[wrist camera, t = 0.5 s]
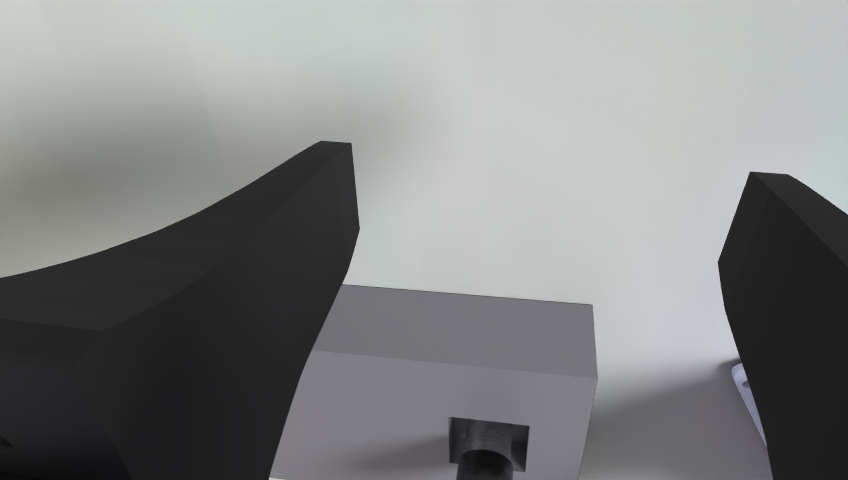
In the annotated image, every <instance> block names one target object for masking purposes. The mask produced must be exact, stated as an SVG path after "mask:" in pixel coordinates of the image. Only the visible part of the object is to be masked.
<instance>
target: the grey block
mask: <svg viewBox="0 0 848 480" xmlns="http://www.w3.org/2000/svg"><path fill="white" fill-rule="evenodd" d="M597 380H598V377H597V362H596V347H595V332H594V318H593V305H584V304H572V303H560V302H548V301H535V300H523V299H511V298H499V297H487V296H474V295H462V294H450V293H438V292H425V291H413V290H401V289H389V288H377V287H364V286H352V285H341V287H340V290H339V292H338V294H337V296H336V298H335V301H334V303H333V305H332V307H331V309H330V312H329V314H328V316H327V318H326V320H325V322H324V325H323V327H322V329H321V331H320V333H319V335H318V338H317V340H316V342H315V344H314V346H313V348H312V351H311V353H310V355H309V357H308V360H307V362H306V365H305V367H304V369H303V372H302V374H301V377H300V380H299V383H298V386H297V389H296V392H295V395H294V398H293V401H292V404H291V407H290V410H289V413H288V416H287V419H286V423H285V426H284V429H283V433H282V436H281V439H280V443H279V446H278V449H277V452H276V456H275V459H274V462H273V466H272V469H271V473H270V476H269V477H271V478H278V479H286V480H456V476H457V469H458V461H459V458H460V457H461V455H463V451H464V444H465V436H466V429H467V421H468V419H475V420H483V421H492V422H501V423H510V424H513V425H512V441H511V456H510V461H511V463H512V465H513V480H578V477H579V472H580V467H581V462H582V457H583V452H584V446H585V441H586V436H587V431H588V426H589V421H590V416H591V410H592V405H593V400H594V395H595V390H596V385H597Z"/></svg>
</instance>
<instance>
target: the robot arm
mask: <svg viewBox="0 0 848 480" xmlns="http://www.w3.org/2000/svg"><path fill="white" fill-rule="evenodd" d="M359 230H360V227H359V217H358V207H357V196H356V186H355V176H354V165H353V155H352V145H351V143H344V142H330V141H320V142H318V143H316V144H314V145H312V146H310V147H308V148H307V149H305V150H303V151H302V152H300V153H298V154H297V155H295V156H294V157H292V158H290V159H289V160H287V161H286V162H284V163H283V164H281V165H279V166H278V167H276V168H275V169H273V170H271V171H270V172H268V173H267V174H265V175H263V176H262V177H260V178H259V179H257V180H255V181H254V182H252V183H250V184H249V185H247V186H245V187H243V188H242V189H240V190H238V191H236V192H235V193H233V194H231V195H229V196H227V197H226V198H224V199H222V200H220V201H219V202H217V203H215V204H213V205H211V206H210V207H208V208H206V209H204V210H202V211H200V212H198V213H196V214H194V215H192V216H190V217H187V218H185V219H183V220H181V221H179V222H176V223H174V224H172V225H170V226H167V227H165V228H163V229H161V230H158V231H156V232H153V233H151V234H148V235H145V236H143V237H140V238H137V239H134V240H131V241H129V242H126V243H123V244H120V245H118V246H115V247H112V248H109V249H107V250H104V251H101V252H98V253H95V254H92V255H88V256H85V257H81V258H78V259H75V260H71V261H68V262H64V263H61V264H57V265H53V266H49V267H46V268H42V269H38V270H34V271H30V272H26V273H22V274H17V275H13V276H8V277H3V278H0V480H269V476H270V473H271V469H272V466H273V462H274V459H275V456H276V452H277V449H278V446H279V443H280V439H281V436H282V433H283V429H284V426H285V423H286V419H287V416H288V413H289V410H290V407H291V404H292V401H293V398H294V395H295V392H296V389H297V386H298V383H299V380H300V377H301V374H302V372H303V369H304V367H305V365H306V362H307V360H308V357H309V355H310V353H311V351H312V348H313V346H314V344H315V342H316V340H317V338H318V335H319V333H320V331H321V329H322V327H323V325H324V322H325V320H326V318H327V316H328V314H329V312H330V309H331V307H332V305H333V303H334V301H335V298H336V296H337V294H338V292H339V290H340V287H341V285H342V283H343V281H344V278H345V276H346V274H347V271H348V269H349V265H350V262H351V259H352V255H353V252H354V248H355V245H356V241H357V237H358V234H359ZM718 267H719V275H720V282H721V289H722V295H723V301H724V307H725V311H726V315H727V318H728V321H729V324H730V328H731V331H732V334H733V337H734V340H735V343H736V347H737V350H738V353H739V356H740V359H741V362H742V363H740V364H737V365H735V366H734V367H733V368H732V370H731V373H732V377H733V380H734V382H735V384H736V386H737V388H738V390H739V392H740V394H741V396H742V398H743V400H744V402H745V404H746V406H747V408H748V410H749V412H750V414H751V416H752V418H753V420H754V422H755V424H756V427H757V429H758V431H759V433H760V435H761V437H762V439H763V441H764V443H765V445H766V447H767V450H768V455H769V460H770V465H771V470H772V475H773V480H848V215H847V214H846V213H845V212H843V211H842V210H840V209H839V208H838V207H836V206H835V205H833V204H832V203H831V202H829V201H828V200H826V199H825V198H824V197H822V196H821V195H819V194H818V193H817V192H815V191H814V190H812V189H811V188H809V187H808V186H806V185H805V184H803V183H802V182H800V181H798V180H797V179H795V178H793V177H792V176H790V175H788V174H776V173H762V172H750V173H749V176H748V179H747V182H746V185H745V187H744V190H743V193H742V196H741V199H740V202H739V204H738V207H737V210H736V213H735V216H734V218H733V221H732V224H731V227H730V230H729V233H728V235H727V238H726V241H725V244H724V247H723V249H722V252H721V255H720V258H719V261H718ZM747 380H748V381H747Z"/></svg>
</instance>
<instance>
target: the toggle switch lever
mask: <svg viewBox="0 0 848 480" xmlns="http://www.w3.org/2000/svg"><path fill="white" fill-rule="evenodd" d="M512 425H513V424H510V423H501V422H492V421H483V420H475V419H468V421H467V429H466V436H465V444H464V451H463V455H461V457H460V458H459V461H458V469H457V476H456V480H513V465H512V463H511V461H510V456H511V441H512Z"/></svg>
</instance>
